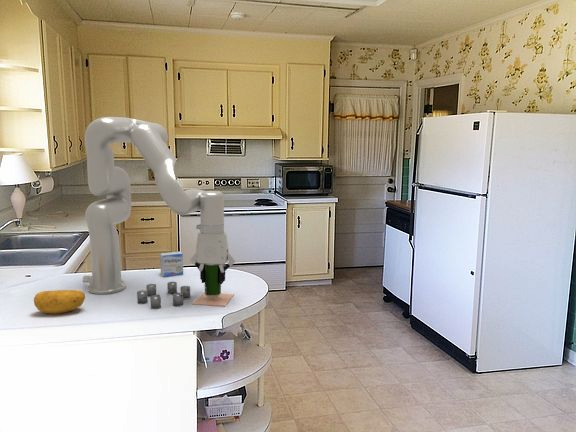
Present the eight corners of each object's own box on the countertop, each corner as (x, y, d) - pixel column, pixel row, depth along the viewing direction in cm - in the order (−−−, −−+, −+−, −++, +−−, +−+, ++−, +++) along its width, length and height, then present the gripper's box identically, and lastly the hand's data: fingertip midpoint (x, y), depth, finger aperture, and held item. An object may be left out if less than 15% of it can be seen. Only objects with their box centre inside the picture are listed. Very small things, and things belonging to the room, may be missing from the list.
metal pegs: (130, 307, 154) (130, 297, 153) (153, 289, 171) (152, 280, 170) (177, 310, 152) (176, 300, 151) (195, 292, 168) (194, 282, 168)
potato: (82, 315, 147) (81, 293, 146) (31, 318, 145) (29, 295, 143) (87, 306, 154) (86, 285, 153) (39, 309, 152) (37, 287, 150)
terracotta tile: (192, 304, 157) (192, 303, 157) (202, 293, 168) (202, 292, 168) (225, 306, 156) (225, 305, 156) (233, 295, 166) (233, 294, 166)
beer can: (208, 298, 158) (208, 263, 156) (202, 293, 162) (201, 259, 160) (223, 295, 161) (223, 260, 159) (216, 291, 165) (216, 257, 163)
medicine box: (163, 277, 185) (162, 255, 183) (160, 274, 189) (159, 252, 187) (183, 275, 188) (183, 253, 187) (180, 271, 192) (179, 250, 191)
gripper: (182, 230, 155) (184, 284, 158) (235, 232, 153) (235, 287, 156) (190, 225, 162) (191, 277, 166) (240, 227, 160) (240, 280, 163)
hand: (212, 281), depth 161 cm, fingers closed on beer can, 5 cm apart
